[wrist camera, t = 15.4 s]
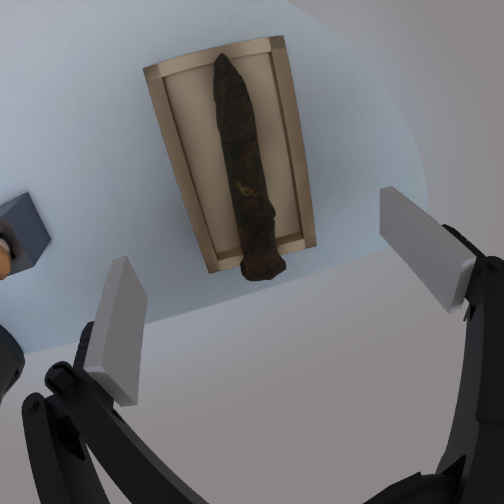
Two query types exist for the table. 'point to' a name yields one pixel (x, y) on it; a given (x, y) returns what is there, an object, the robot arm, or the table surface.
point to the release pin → (5, 257)
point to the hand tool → (245, 174)
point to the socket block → (23, 232)
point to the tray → (210, 149)
